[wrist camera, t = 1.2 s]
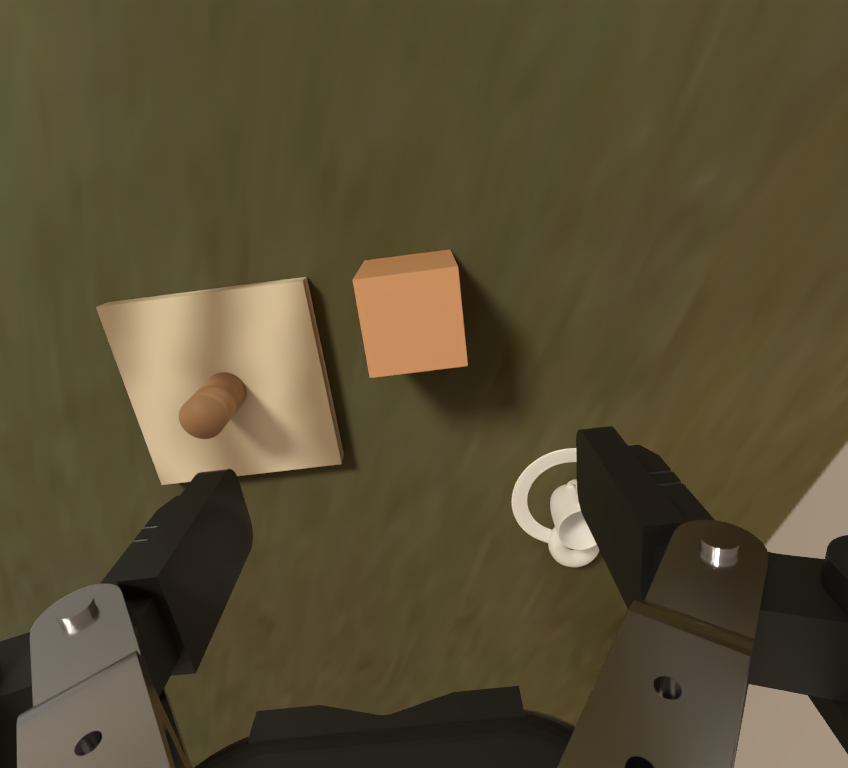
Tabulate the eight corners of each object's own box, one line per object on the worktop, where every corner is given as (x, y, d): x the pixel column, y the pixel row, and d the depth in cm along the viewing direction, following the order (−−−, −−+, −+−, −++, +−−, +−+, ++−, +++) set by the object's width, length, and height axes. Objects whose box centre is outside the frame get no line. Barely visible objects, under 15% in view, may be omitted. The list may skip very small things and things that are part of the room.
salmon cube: (450, 249, 30) (457, 266, 24) (458, 332, 32) (467, 365, 26) (364, 260, 30) (352, 279, 24) (378, 342, 32) (369, 377, 26)
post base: (306, 276, 30) (285, 295, 25) (343, 454, 35) (332, 499, 30) (107, 302, 31) (49, 326, 26) (169, 475, 35) (130, 522, 30)
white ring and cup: (588, 559, 39) (607, 600, 35) (490, 532, 38) (498, 572, 34) (642, 462, 36) (669, 496, 32) (536, 431, 35) (551, 462, 31)
